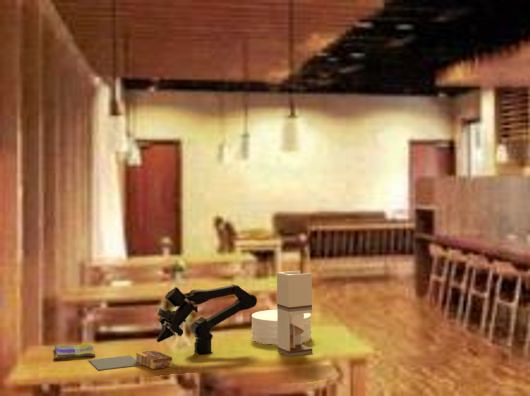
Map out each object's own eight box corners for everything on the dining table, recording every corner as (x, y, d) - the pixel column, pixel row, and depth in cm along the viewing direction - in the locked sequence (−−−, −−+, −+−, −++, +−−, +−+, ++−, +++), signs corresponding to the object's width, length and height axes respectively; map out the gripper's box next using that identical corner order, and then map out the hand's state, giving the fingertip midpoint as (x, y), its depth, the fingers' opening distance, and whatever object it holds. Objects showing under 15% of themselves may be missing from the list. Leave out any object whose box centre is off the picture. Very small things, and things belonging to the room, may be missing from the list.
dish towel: (93, 347, 364) (93, 341, 364) (95, 359, 341) (95, 353, 341) (54, 349, 360) (54, 343, 360) (53, 362, 336) (53, 355, 336)
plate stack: (312, 345, 361) (312, 320, 361) (251, 345, 362) (250, 320, 361) (309, 332, 389) (309, 309, 389) (252, 333, 390) (252, 309, 389)
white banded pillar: (289, 356, 340) (288, 275, 338) (277, 351, 349) (276, 272, 348) (312, 353, 345) (311, 273, 344) (300, 348, 354) (299, 270, 353)
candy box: (135, 362, 332) (152, 369, 319) (135, 352, 332) (152, 358, 319) (154, 360, 337) (172, 367, 324) (155, 350, 337) (172, 356, 324)
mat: (130, 356, 344) (130, 355, 344) (141, 365, 327) (141, 364, 327) (88, 360, 336) (88, 360, 336) (98, 370, 320) (98, 369, 320)
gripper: (162, 298, 349) (138, 325, 345) (175, 305, 332) (150, 333, 328) (179, 314, 353) (155, 341, 349) (193, 322, 336) (169, 350, 332)
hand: (157, 341), depth 339 cm, fingers closed
